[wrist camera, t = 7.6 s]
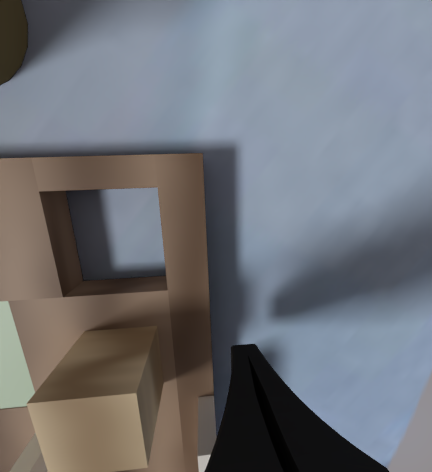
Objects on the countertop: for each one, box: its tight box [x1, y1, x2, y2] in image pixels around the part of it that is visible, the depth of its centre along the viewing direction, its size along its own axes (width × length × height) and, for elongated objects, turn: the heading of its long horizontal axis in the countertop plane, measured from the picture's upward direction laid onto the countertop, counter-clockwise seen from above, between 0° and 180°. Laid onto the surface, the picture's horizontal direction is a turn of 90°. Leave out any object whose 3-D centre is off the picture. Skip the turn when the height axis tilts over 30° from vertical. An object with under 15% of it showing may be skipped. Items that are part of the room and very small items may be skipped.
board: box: [0, 153, 214, 472], centre depth 14 cm, size 17×26×2 cm, turn 2°
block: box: [27, 326, 164, 472], centre depth 10 cm, size 4×4×4 cm
